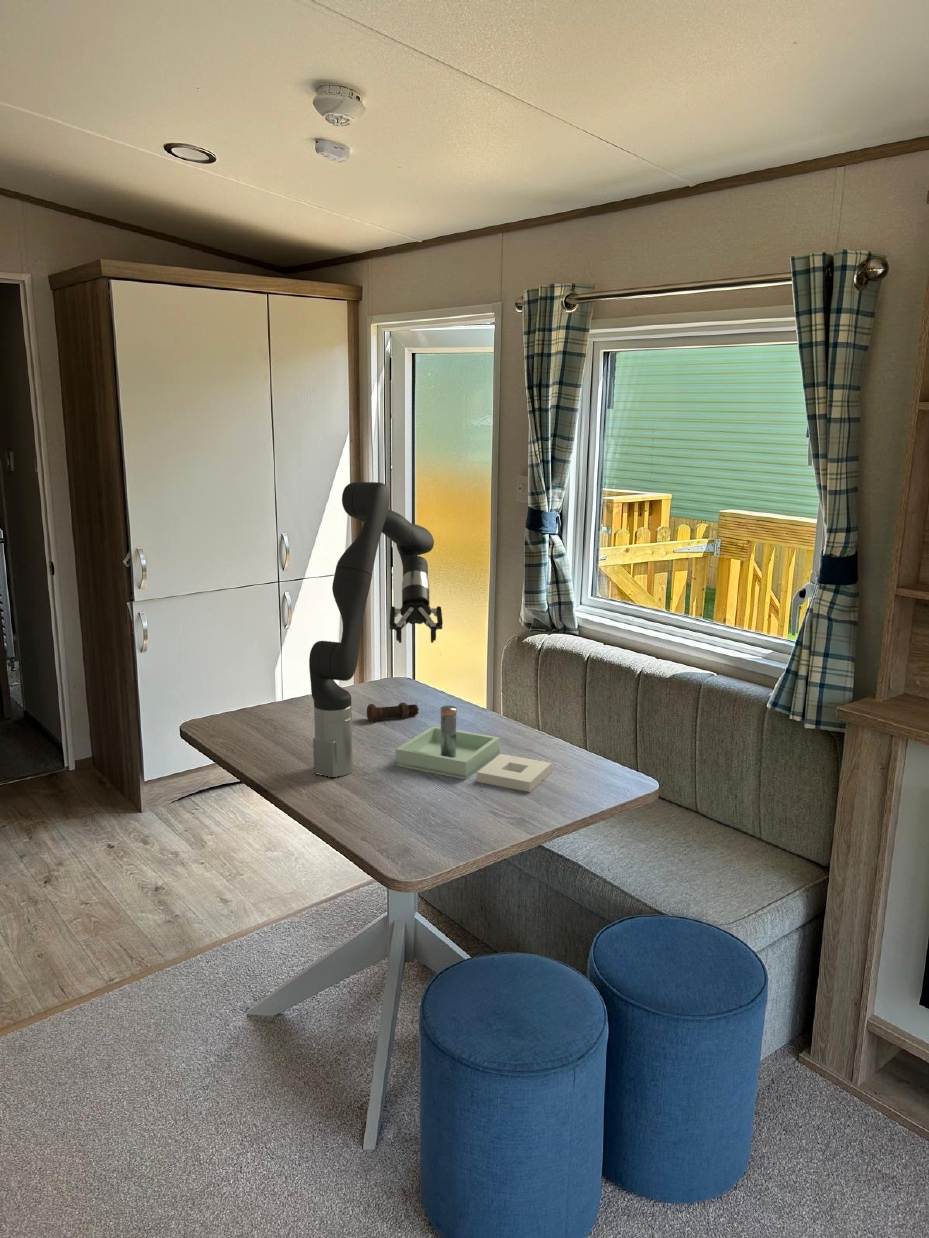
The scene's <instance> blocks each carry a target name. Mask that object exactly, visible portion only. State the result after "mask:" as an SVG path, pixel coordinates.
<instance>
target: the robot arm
mask: <svg viewBox="0 0 929 1238" xmlns="http://www.w3.org/2000/svg"><path fill="white" fill-rule="evenodd" d="M390 499H391V498H390V490H389V487H388V486H387V484H385V483H383V482H378V481H377V482H374V481H371V482H369V481H368V482H367V481H355V482H350V483H348V484H346V486H345V487H344V488H343V491H342V494H341V505H342V507H343V510H344V511H345V513H346V514H347V515H348V516H350V517H351V518H353V519H355V520H358V521H360V522H362V523H363V524H362V527H361V530H360V531H359V533H358V535H357V536H356V537H355V538H354V540H353V541H352V543H351V544H350V545H349V546H348V547H347V549H346V550H345V551H344V552H343V554H342V555H341V556H340V557H339V559H338V561H337V563H336V566H335V571H334V575H333V580H332V586H331V588H332V589H331V590H332V594H333V599H334V601H335V604H336V606H337V609H338V611H339V614H340V617H341V623H342V632H341V638H340V639H341V640H340V642H339V641H330V640H319V641H316V642H315V643H314V644H312V647H311V649H310V652H309V658H308V667H309V678H310V679H309V680H310V689H311V690H310V692H311V697H312V700H313V714H314V715H313V716H314V717H313V718H314V720H313V722H314V723H313V724H314V737H313V738H312V748H313V749H312V750H313V755H312V756H313V774H314V773H319V774H322V775H325V776H324V777H326V776H328V777H327V778H330V777H336V778H337V777H338V776H339V777H343V776H347V775H349V774H350V773H352V772H353V769H354V768H353V767H354V761H353V760H354V759H353V757H354V756H353V723H352V722H353V721H352V720H353V719H352V718H353V714H352V711H353V710H352V708H353V707H352V694H351V693H350V692H349V691H348V690H347V689H345V688H343V687H341V686H340V685H339V684H337V683H336V681H341V682H344V681H345V682H347V681H350V680H351V679H352V678H353V677H354V675H355V673H356V671H357V666H358V661H359V655H360V646H361V640H362V639H361V638H362V629H363V621H364V616H365V611H366V606H367V603H368V602H367V601H368V596H369V592H370V588H371V583H372V579H373V574H374V573H373V572H374V566H375V563H376V561H375V560H376V556H377V551H378V547H379V543H380V539H381V536H382V534H383V535H384V536H386V538H388V539H389V540H391V541H392V542H393V543H395V544H396V549H397V551H398V554H399V558H400V560H401V565H402V583H401V607H400V608H396V607H395V606H391V607H390V613H389V630H391V631H392V630H395V635H396V636H395V640H396V641H397V642H398V643H399V644H401V643H402V630H403V628H406V626H407V625H408V624H410V625H414V624H417V625H422V624H424V625H425V626H426V627H427V628H428V629H430V643H431V644H433V643H434V642H435V641H436V639H437V631H438V630H442V629H443V612H442V607H441V606H440V605H438V606H436V607H435V608H434V607H433V608H431V606H430V603H431V601H430V583H429V565H428V561H427V560H426V558H425V557H423V556H421V555H425V554H427V553H430V552H431V551H432V550H433V549H434V545H435V539H434V536H433V534H432V533H431V532H430V531H429V530H428V528H425V527H423V526H421V525H418V524H415V523H412V522H410V521H409V520H408V519H407V518H405V517H404V516H403V515H401V514H400V513H399V512H396V511H393V510H391V509H389V508H390ZM431 614H433V616H434V617H436V621H437V622H434V620H433V619H432V617H431ZM399 615H401V616H402V617H401V618H400V619H399V621H398V622H395V621H396V617H398V616H399Z"/></svg>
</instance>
